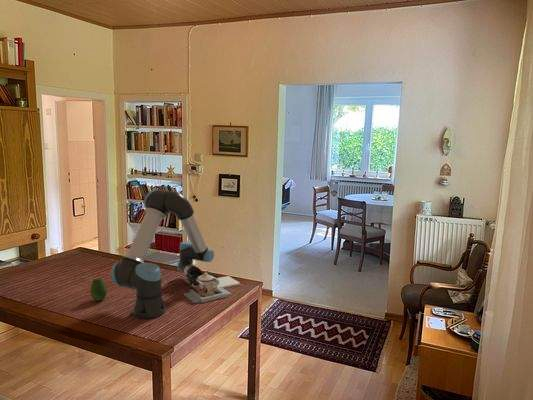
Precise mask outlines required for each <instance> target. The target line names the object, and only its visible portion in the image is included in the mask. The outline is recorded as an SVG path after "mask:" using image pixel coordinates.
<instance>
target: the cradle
mask: <svg viewBox="0 0 533 400" xmlns="http://www.w3.org/2000/svg"><path fill="white" fill-rule="evenodd" d="M214 290H215V285H214ZM215 292H216V293H217V294H212V295H210V296H200V295H199V294H198V292H196V291H195V290H194V289H189V292H185V293H183V295H184V297H186V298H188V299H189V300H190V301H191V302H192V303H194V304H196V303H197V304H198V303H206V302H209V301H214V300H218V299H223V298H228V296H231V295H232V293H231V292H230V291H228V290H227V289H226V288H218V287H217V289H216V291H215Z"/></svg>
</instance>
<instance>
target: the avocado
mask: <svg viewBox="0 0 533 400" xmlns="http://www.w3.org/2000/svg"><path fill="white" fill-rule="evenodd" d="M107 294H108V290H107V285H106V284H105V282H104V280H103V279H102V278H100V277H95V278H94V279H93V280H92V283H91V287H90V295H91V298H92V299H93V301H94V300H95V301H97V302H98V301H103V300H104V299H105V298H106V297H107V296H108V295H107Z"/></svg>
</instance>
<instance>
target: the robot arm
mask: <svg viewBox="0 0 533 400" xmlns="http://www.w3.org/2000/svg"><path fill="white" fill-rule="evenodd" d="M143 200H144V201H143V202H144V203H143V204H144V212H145V215H144V218H143V219H142V222H141V224H140V225H139V227H138V230H137V232H136V235H135V237H134V239H133V241H132V243H131V246H130V247H129V250H128V252H127V254H125V255H123V256H122V258H121V259H120V261H116V262H115V263H114V264H113V265H112V267H111V268H110V269H111V270H110V277H111V281H112V283H113V284H115V285H116V286H119V287H121V288H127V289H131V290H135V292H136V299H135V302H134V305H133V308H132V315H133V316H134V317H135V318H137V319H144V320H145V319H148V320H150V319H155V318H158V317H160V316H163V315H164V314H165V312H166V305H165V302H164V298H163V296H162V269H161V267H160V266H159V265H157V264H156V263H151V262H144V260H145V257H146V256H147V253H148V251H149V249H150V246H151V244H152V242H153V240H154V237H155V236H156V233H157V231H158V228H159V226H160V224H161V222H162V220H164V219H166V217H167V215H168V213H169V214H173V215H174V216H175V217H176V219H177V220H179V221H180V222H181V225H182V227H183V229H184V231H185V234H186V236H187V238H188V240H189V241H182V242H180V243H179V261H178V263H177V266H176V267H177V270H178V271H179V272H180V273H181V274H183V275H185V279H186V281H188V283H189V285H193V286H194V287H195V286H197V287H198V286H199V287H200V288H203V283H202V282H200V281H199V280H197V278H198V277H199V276H201V275H203V274H204V273H208V275H211V276H213V277H214V283H216V284H217V285H219V279H218V278H219V277H218V274H215V273H212V272H210V271H208V270H206V272H203V271H202V270H201V268H199V267H197V266H196V264H195V265H194V264H193V260H194V261H199V262H203V263H211V262H212V261H213V259H214V258H215V252H214V250H213V249H211V248H208V245H207V243H206V241H205V239H204V237H203V234H202V232H201V229H200V226H199V224H198V223H197V221H196V220H197V219H196V218H195V216H194V214H195V211H194V208H193V205H191V202H190V201H189V200H188V199H187V198H186V197H185V195H184V194H182V193H180V192H179V191H175V190H164V189H151V190H150V191H148V192H147V193H146V195H145V197H144V199H143Z"/></svg>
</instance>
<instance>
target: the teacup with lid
mask: <svg viewBox="0 0 533 400" xmlns="http://www.w3.org/2000/svg"><path fill="white" fill-rule="evenodd" d="M197 280H199V281H200V282H202V283H203V288H200V287H199V286H198V285H197V293H198V294H199V295H200V296H202V297H207V296H212V295H214V292H216V289H217V284H216V283H214V277H213V276H211V275H208V273H206V272H204V274H203V275H201V276H199V277H198V278H197ZM214 285H215V290H214Z"/></svg>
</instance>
